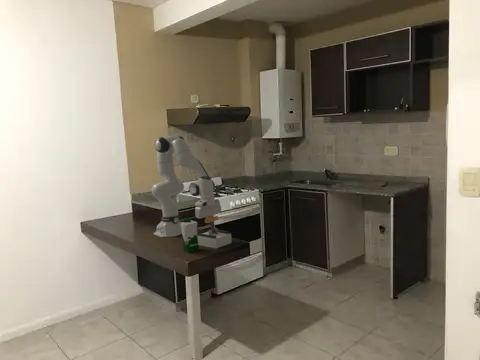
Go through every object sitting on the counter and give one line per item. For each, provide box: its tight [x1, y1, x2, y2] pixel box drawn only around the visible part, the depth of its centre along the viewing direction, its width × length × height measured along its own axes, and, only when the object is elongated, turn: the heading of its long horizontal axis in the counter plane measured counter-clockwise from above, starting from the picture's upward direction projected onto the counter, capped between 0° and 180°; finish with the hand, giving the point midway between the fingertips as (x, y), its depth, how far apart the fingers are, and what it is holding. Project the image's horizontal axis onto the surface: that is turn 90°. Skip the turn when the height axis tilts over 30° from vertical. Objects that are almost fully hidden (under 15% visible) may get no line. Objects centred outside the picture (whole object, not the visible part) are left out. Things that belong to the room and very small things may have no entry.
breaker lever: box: [204, 215, 219, 234], centre depth 258 cm, size 2×10×10 cm, turn 138°
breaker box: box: [198, 227, 233, 250], centre depth 259 cm, size 18×14×10 cm
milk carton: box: [180, 217, 200, 254], centre depth 246 cm, size 9×9×20 cm
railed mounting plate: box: [197, 229, 231, 239], centre depth 258 cm, size 16×13×1 cm
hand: (209, 222), depth 259 cm, fingers closed, pressing on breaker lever
